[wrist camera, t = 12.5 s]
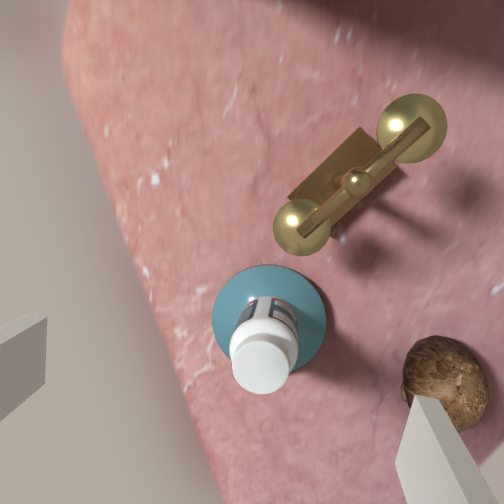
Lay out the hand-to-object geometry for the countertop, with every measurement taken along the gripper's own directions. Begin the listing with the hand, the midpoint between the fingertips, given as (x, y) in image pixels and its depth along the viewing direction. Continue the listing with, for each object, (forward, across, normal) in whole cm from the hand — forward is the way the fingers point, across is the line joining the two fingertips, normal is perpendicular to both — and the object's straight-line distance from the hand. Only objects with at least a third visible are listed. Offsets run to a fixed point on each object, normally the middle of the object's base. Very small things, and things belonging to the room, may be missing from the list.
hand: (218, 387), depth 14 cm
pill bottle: (+21, +1, -6) cm, 22 cm away
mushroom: (+23, +16, -8) cm, 29 cm away
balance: (+23, +5, +7) cm, 24 cm away
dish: (+22, +1, -6) cm, 23 cm away
